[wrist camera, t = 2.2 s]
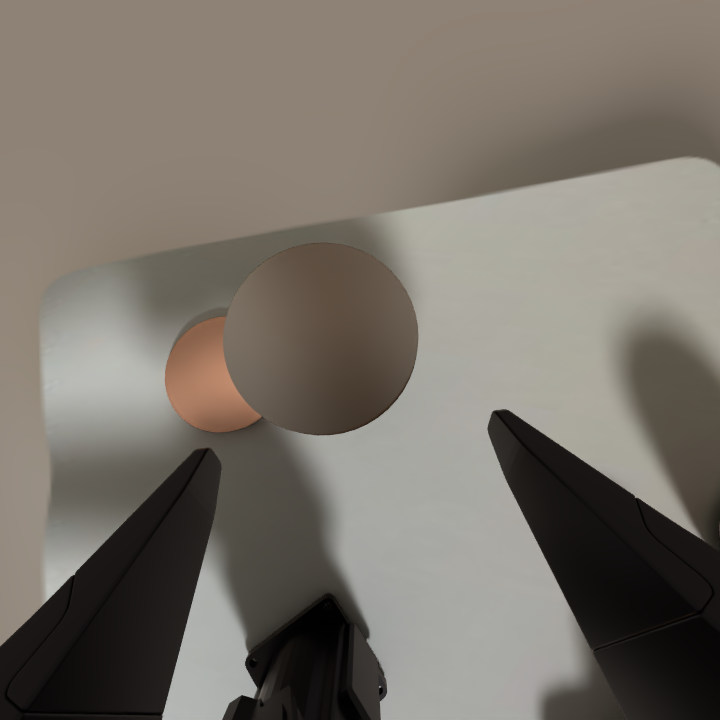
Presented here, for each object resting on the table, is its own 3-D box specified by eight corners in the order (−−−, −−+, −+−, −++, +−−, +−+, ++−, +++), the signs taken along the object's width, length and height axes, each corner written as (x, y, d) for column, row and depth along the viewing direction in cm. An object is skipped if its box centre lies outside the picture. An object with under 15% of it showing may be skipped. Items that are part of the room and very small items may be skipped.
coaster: (209, 454, 19) (202, 456, 18) (152, 360, 20) (144, 358, 19) (305, 387, 20) (303, 387, 19) (246, 299, 20) (241, 295, 20)
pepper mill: (339, 425, 19) (289, 482, 6) (299, 366, 20) (182, 310, 7) (397, 383, 20) (463, 359, 7) (357, 327, 20) (346, 204, 7)
